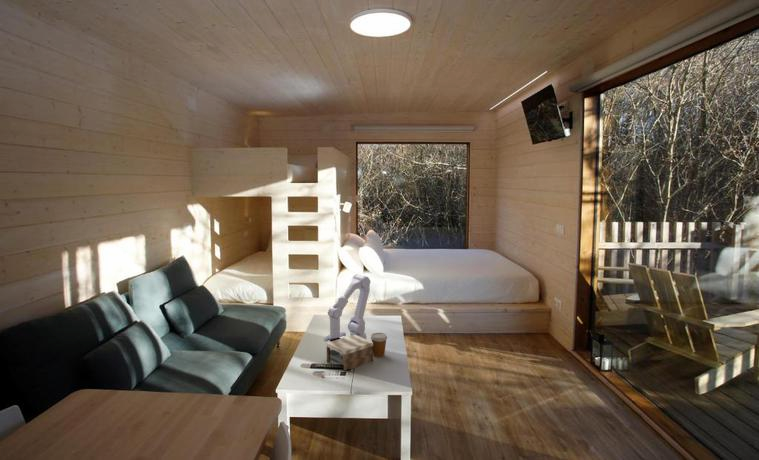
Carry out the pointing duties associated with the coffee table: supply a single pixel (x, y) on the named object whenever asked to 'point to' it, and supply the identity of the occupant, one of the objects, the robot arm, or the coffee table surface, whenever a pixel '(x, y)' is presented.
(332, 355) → the tray
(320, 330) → the coffee table surface
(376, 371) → the coffee table surface
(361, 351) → the wooden slatted crate
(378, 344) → the disposable coffee cup
